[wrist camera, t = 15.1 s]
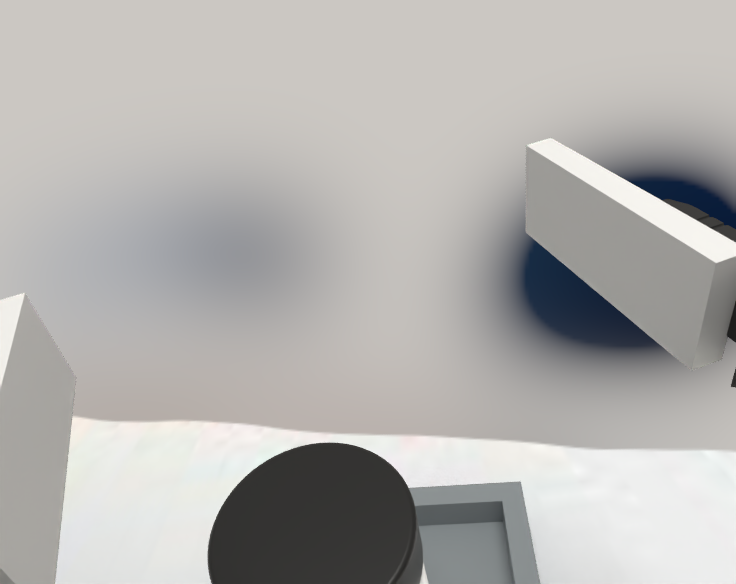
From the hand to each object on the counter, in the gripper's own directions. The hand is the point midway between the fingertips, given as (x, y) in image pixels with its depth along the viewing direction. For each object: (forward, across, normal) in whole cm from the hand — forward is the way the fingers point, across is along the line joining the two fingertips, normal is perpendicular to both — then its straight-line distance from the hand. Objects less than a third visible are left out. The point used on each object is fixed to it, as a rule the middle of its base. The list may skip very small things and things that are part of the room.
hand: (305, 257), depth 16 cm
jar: (+1, -2, -24) cm, 24 cm away
